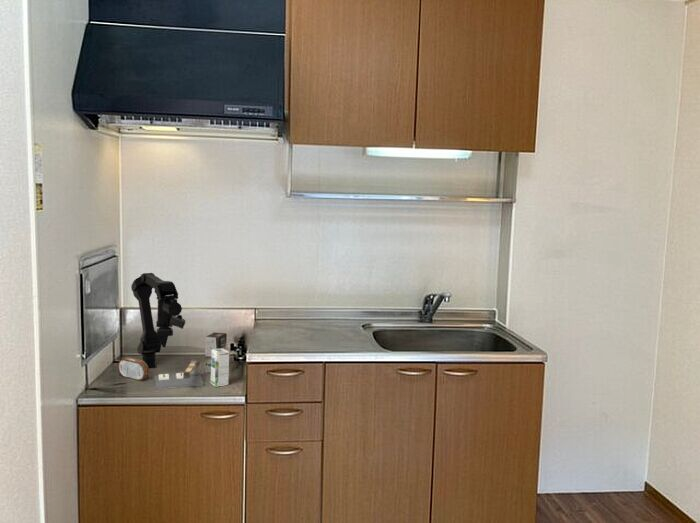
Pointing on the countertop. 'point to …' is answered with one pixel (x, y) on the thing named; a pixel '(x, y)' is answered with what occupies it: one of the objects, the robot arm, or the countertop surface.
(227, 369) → the syrup box
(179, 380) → the label board
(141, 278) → the robot arm
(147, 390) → the countertop surface
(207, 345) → the coffee box
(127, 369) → the tin
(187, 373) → the bar
